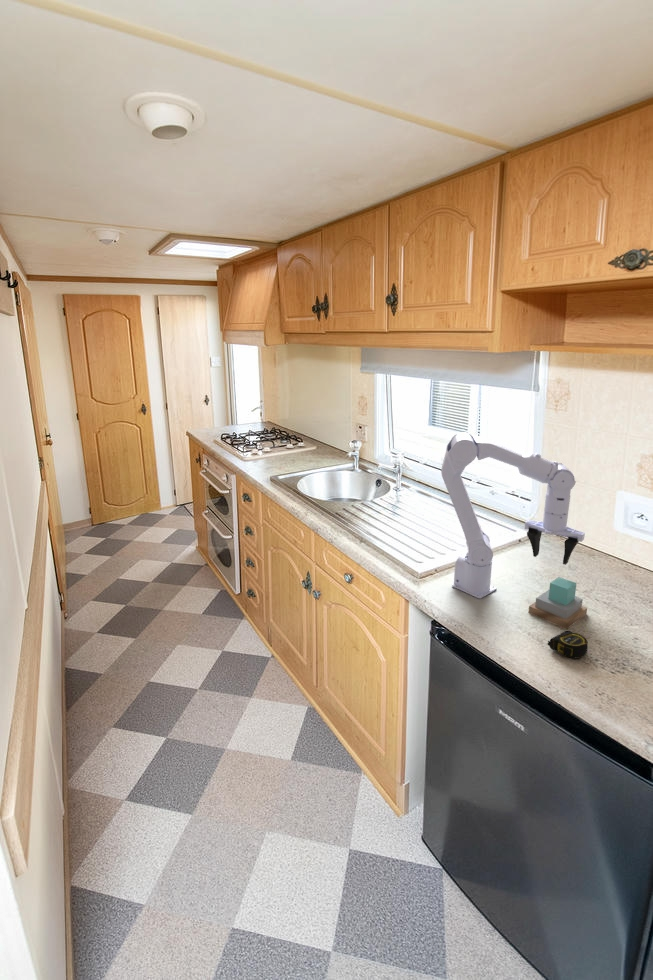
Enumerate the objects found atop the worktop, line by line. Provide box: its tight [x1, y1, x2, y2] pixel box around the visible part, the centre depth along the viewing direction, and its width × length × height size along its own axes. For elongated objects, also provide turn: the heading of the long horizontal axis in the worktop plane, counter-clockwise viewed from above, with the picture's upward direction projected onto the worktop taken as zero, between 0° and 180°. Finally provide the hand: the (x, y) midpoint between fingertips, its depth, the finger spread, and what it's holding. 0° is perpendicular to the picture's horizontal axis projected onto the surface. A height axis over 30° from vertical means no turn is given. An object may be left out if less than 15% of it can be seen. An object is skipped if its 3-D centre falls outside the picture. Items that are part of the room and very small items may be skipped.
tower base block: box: [528, 601, 588, 630], centre depth 132 cm, size 10×10×2 cm
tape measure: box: [547, 630, 589, 659], centre depth 117 cm, size 7×7×4 cm
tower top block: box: [535, 589, 583, 619], centre depth 131 cm, size 8×8×2 cm
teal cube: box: [548, 576, 578, 605], centre depth 130 cm, size 4×4×4 cm
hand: (550, 559), depth 138 cm, fingers open, 7 cm apart
